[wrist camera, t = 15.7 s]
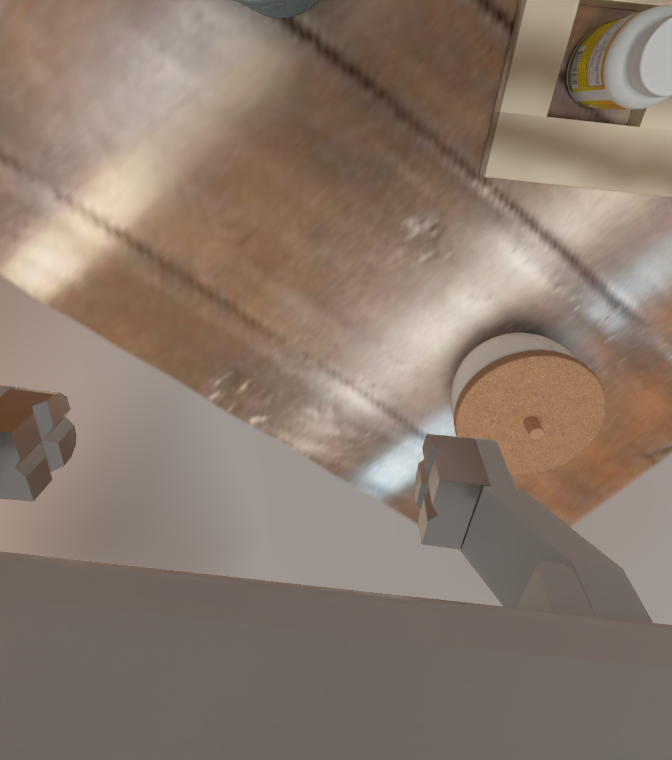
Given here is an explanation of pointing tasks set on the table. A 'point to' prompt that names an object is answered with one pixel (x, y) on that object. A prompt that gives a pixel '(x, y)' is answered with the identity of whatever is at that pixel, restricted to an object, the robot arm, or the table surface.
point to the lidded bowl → (528, 401)
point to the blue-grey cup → (279, 7)
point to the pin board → (565, 136)
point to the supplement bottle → (624, 62)
